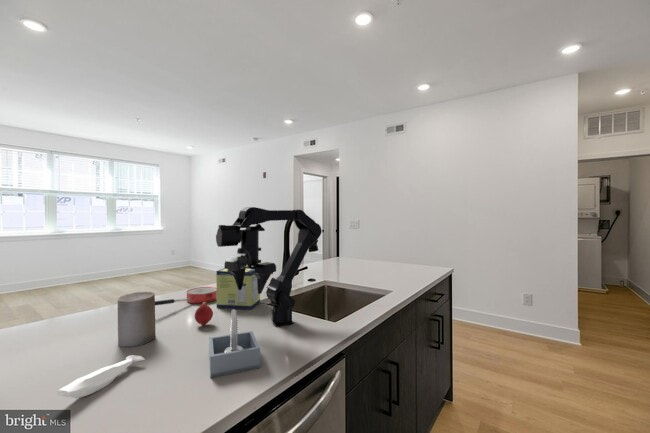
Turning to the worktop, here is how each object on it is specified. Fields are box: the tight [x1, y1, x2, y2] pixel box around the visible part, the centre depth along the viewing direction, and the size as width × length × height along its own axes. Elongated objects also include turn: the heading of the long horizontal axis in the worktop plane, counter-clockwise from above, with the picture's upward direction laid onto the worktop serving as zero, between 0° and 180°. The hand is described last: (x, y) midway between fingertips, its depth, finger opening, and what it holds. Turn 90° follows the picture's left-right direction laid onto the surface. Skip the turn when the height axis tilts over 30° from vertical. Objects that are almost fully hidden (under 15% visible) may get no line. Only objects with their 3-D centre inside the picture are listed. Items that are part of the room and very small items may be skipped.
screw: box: [224, 309, 243, 353], centre depth 76 cm, size 13×5×5 cm
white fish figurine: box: [56, 354, 146, 399], centre depth 65 cm, size 6×18×4 cm, turn 170°
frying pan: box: [155, 286, 217, 306], centre depth 122 cm, size 32×13×6 cm, turn 166°
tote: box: [208, 330, 261, 379], centre depth 76 cm, size 12×12×5 cm
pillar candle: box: [116, 291, 156, 348], centre depth 88 cm, size 10×10×15 cm
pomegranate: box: [194, 302, 214, 327], centre depth 100 cm, size 6×6×8 cm
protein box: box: [216, 267, 261, 311], centre depth 123 cm, size 10×16×16 cm
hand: (249, 291), depth 96 cm, fingers open, 9 cm apart
